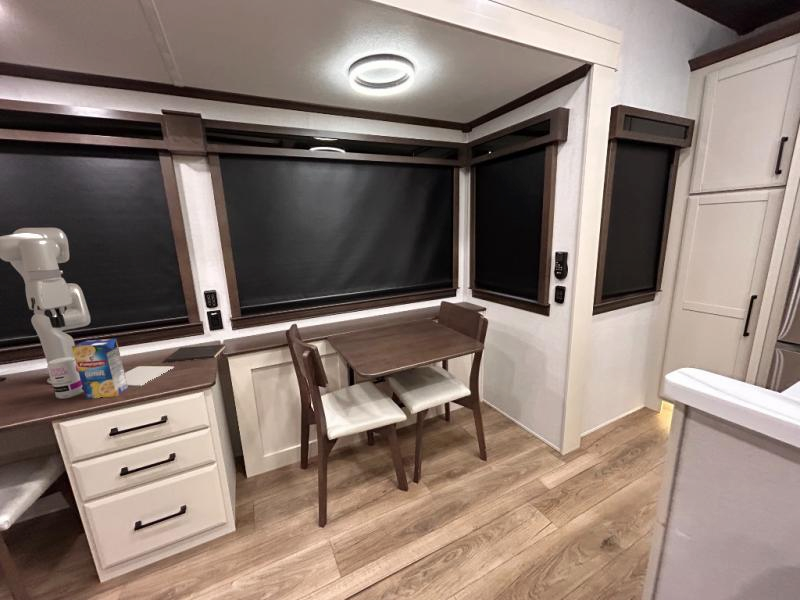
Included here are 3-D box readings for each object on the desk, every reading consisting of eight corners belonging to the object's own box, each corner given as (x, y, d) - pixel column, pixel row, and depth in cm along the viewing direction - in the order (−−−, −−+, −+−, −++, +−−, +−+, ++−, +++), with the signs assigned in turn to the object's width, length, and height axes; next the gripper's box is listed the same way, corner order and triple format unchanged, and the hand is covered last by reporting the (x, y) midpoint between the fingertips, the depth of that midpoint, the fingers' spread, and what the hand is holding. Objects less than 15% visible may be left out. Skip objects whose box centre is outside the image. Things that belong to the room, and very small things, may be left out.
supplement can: (83, 387, 133) (74, 354, 129) (86, 393, 128) (77, 359, 124) (55, 395, 127) (45, 360, 123) (57, 401, 121) (46, 366, 118)
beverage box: (117, 396, 125) (103, 344, 120) (85, 399, 123) (71, 346, 118) (128, 387, 131) (116, 338, 126) (98, 390, 129) (85, 340, 125)
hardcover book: (181, 351, 171) (180, 347, 171) (226, 348, 175) (225, 344, 175) (165, 363, 156) (164, 359, 155) (214, 359, 160) (214, 355, 159)
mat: (101, 385, 133) (101, 384, 133) (138, 367, 151) (138, 366, 151) (141, 386, 132) (140, 384, 132) (173, 367, 150) (173, 366, 150)
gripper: (59, 272, 113) (72, 321, 118) (6, 279, 99) (23, 334, 103) (78, 272, 113) (90, 320, 117) (27, 278, 98) (43, 333, 102)
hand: (59, 326), depth 110 cm, fingers closed
